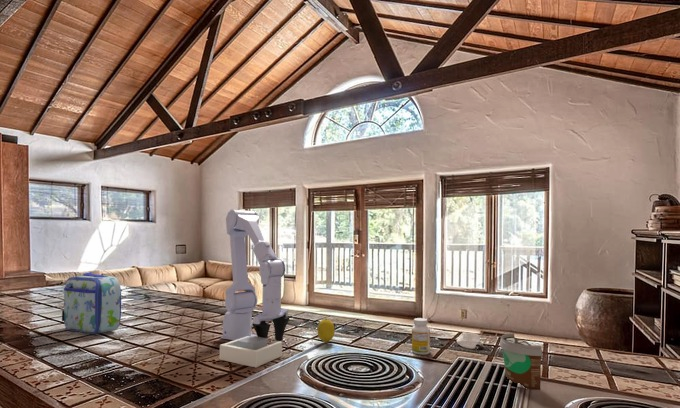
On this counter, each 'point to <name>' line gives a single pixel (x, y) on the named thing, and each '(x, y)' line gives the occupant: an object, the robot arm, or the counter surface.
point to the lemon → (326, 330)
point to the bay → (249, 353)
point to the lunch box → (92, 303)
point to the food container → (522, 361)
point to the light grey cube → (252, 342)
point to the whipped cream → (469, 340)
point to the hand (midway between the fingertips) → (271, 343)
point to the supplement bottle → (420, 337)
